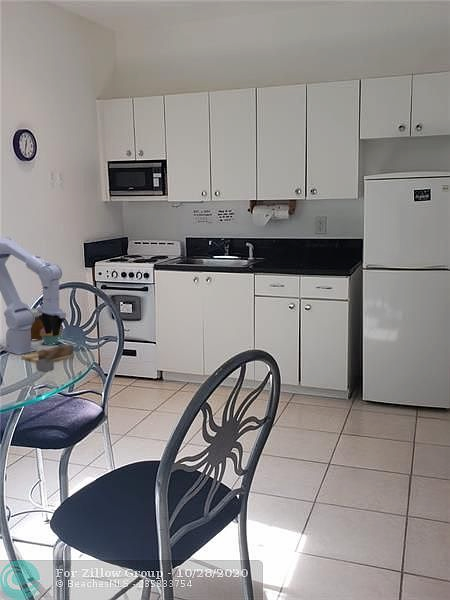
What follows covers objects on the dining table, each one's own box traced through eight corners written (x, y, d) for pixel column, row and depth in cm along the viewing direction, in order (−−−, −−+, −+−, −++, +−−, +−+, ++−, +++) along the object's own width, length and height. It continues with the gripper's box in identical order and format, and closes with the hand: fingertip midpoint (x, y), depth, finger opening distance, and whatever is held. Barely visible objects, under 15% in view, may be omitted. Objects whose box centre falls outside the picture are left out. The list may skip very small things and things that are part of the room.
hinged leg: (41, 360, 217) (41, 351, 216) (36, 359, 218) (36, 349, 218) (73, 353, 227) (73, 343, 227) (68, 351, 229) (68, 342, 228)
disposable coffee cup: (39, 342, 248) (38, 313, 246) (18, 340, 250) (17, 311, 248) (50, 337, 257) (49, 309, 255) (29, 335, 259) (29, 307, 257)
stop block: (36, 368, 212) (36, 360, 212) (45, 366, 215) (44, 358, 214) (45, 371, 209) (44, 363, 209) (53, 369, 212) (53, 361, 211)
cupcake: (44, 340, 251) (43, 311, 249) (64, 341, 251) (63, 312, 249) (37, 345, 243) (36, 316, 241) (58, 346, 243) (57, 316, 240)
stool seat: (21, 358, 224) (21, 355, 224) (53, 351, 235) (53, 348, 235) (41, 365, 217) (41, 361, 216) (73, 357, 228) (73, 354, 227)
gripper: (72, 299, 223) (73, 335, 225) (48, 294, 232) (49, 329, 234) (56, 301, 217) (57, 339, 220) (32, 296, 226) (33, 332, 229)
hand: (52, 334), depth 227 cm, fingers open, 4 cm apart
